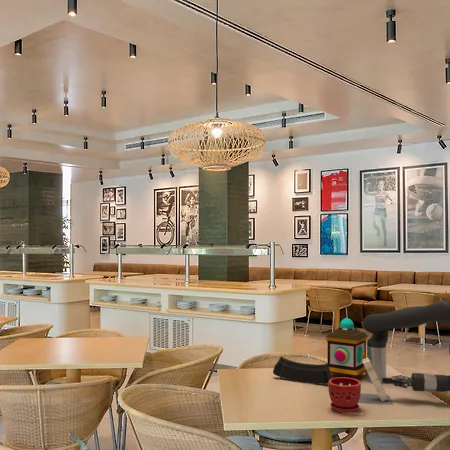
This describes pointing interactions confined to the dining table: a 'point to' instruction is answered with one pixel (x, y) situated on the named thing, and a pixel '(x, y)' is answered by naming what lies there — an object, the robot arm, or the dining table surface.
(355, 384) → the plant pot
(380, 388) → the slab
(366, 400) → the mat
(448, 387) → the robot arm
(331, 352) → the decorative lantern
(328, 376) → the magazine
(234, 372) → the dining table surface
